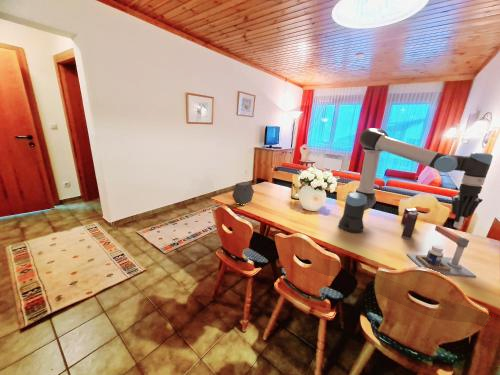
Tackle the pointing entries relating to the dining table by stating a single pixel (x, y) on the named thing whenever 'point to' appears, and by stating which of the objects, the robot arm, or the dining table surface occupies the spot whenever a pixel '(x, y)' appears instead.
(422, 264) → the latch board
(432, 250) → the pill bottle
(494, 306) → the dining table surface
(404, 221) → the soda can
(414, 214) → the supplement box
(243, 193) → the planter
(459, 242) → the bar
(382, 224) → the dining table surface
